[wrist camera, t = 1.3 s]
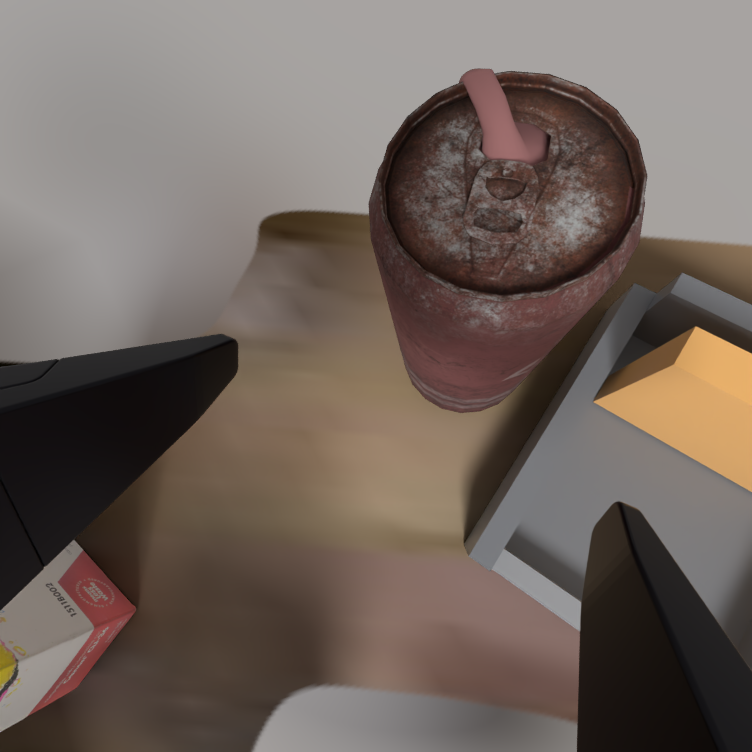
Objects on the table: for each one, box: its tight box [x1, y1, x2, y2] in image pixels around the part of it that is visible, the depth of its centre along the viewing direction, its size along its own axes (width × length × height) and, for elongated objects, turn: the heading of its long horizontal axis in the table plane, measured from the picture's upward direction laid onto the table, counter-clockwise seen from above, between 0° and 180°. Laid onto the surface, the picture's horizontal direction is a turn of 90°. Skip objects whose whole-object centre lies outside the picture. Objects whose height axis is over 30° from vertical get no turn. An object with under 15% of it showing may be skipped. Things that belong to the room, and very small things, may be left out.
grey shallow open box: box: [464, 273, 752, 670], centre depth 17 cm, size 14×12×5 cm
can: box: [369, 69, 647, 413], centre depth 15 cm, size 6×6×14 cm
